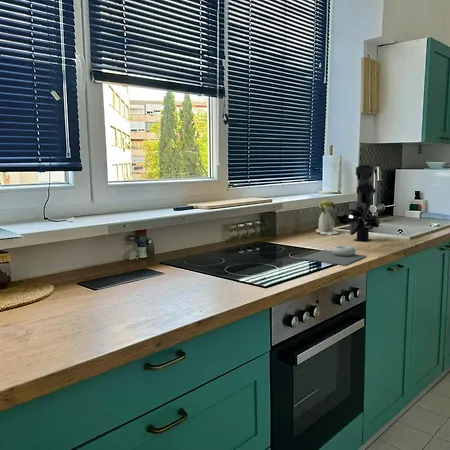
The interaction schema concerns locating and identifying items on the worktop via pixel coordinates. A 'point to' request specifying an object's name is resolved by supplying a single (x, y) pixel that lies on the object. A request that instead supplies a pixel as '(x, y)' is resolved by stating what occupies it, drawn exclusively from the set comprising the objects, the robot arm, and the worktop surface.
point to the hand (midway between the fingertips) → (351, 234)
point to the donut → (343, 250)
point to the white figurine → (326, 218)
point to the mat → (333, 258)
